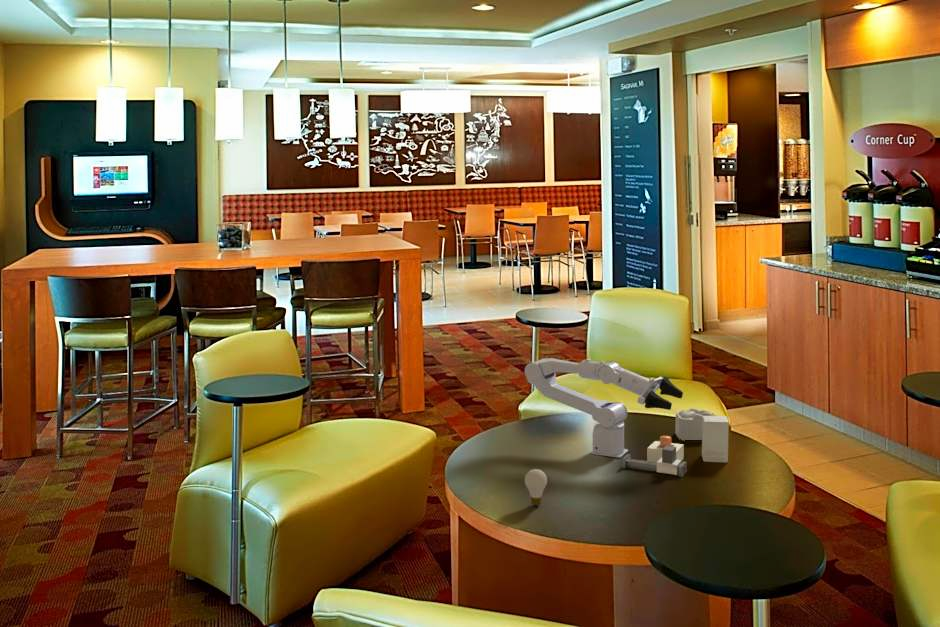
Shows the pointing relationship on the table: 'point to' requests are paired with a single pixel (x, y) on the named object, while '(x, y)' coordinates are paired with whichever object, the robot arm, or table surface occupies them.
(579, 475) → the table surface
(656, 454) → the white hollow block
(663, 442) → the plunger
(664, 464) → the carriage
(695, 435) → the lumpy-topped squat cylinder
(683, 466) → the rail
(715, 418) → the supplement box
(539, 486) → the light bulb
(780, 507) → the table surface
